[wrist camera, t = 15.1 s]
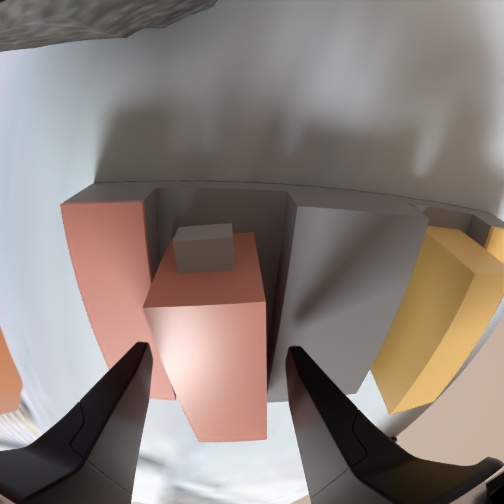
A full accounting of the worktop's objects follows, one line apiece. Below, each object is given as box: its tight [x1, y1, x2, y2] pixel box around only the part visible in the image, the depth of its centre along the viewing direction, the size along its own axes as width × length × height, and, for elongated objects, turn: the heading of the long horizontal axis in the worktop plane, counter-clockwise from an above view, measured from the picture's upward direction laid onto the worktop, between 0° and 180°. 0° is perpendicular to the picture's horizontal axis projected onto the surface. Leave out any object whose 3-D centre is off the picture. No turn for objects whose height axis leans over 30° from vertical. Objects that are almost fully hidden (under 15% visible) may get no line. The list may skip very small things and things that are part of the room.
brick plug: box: [142, 223, 267, 442], centre depth 10 cm, size 9×3×4 cm, turn 2°
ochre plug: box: [370, 226, 504, 415], centre depth 11 cm, size 9×3×4 cm, turn 176°
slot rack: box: [60, 181, 504, 402], centre depth 12 cm, size 10×20×3 cm, turn 86°
